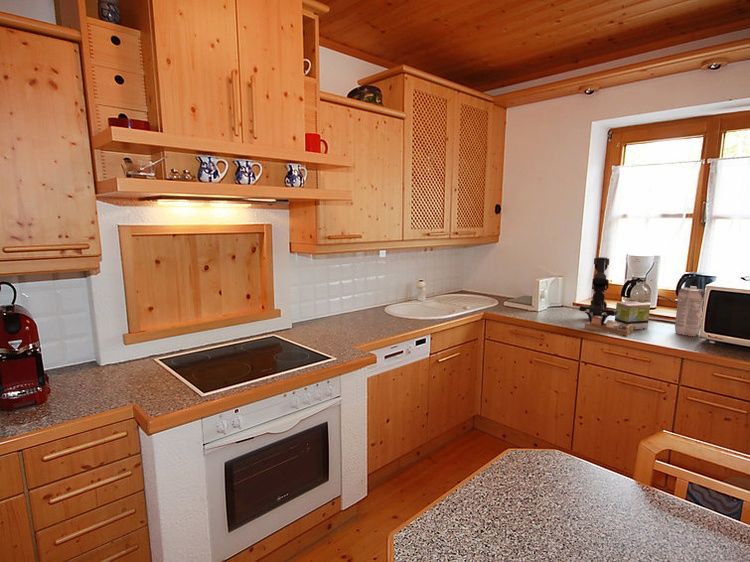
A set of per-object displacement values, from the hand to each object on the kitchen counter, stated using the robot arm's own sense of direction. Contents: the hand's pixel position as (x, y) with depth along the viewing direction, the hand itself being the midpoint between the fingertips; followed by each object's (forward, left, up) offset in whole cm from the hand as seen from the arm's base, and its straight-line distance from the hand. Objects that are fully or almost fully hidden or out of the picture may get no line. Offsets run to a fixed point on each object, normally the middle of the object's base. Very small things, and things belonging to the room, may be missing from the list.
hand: (596, 324), depth 245 cm
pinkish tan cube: (0, 0, -1) cm, 1 cm away
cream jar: (0, +8, -2) cm, 8 cm away
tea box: (-17, +14, -3) cm, 22 cm away
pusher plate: (0, +12, -2) cm, 12 cm away
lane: (0, +6, -2) cm, 6 cm away
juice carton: (-23, +40, -3) cm, 46 cm away
